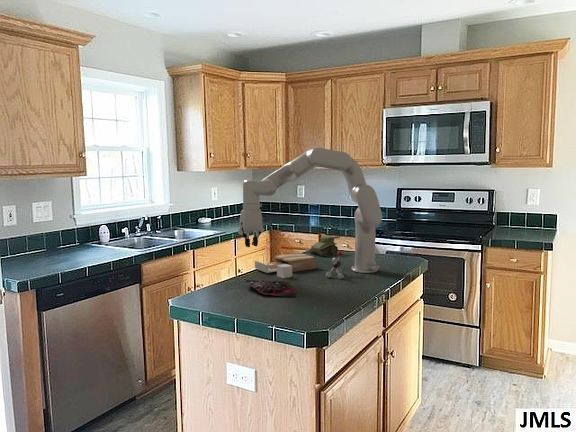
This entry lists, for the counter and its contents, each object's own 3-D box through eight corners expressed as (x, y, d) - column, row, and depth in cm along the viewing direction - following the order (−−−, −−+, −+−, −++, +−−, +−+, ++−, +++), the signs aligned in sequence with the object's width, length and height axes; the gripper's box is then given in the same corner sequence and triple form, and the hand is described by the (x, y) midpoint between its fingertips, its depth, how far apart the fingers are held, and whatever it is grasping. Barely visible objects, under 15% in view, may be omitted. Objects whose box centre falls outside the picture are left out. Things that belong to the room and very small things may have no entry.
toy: (345, 253, 275) (345, 235, 274) (321, 257, 264) (322, 239, 262) (332, 250, 283) (333, 233, 282) (309, 254, 271) (309, 237, 270)
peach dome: (284, 267, 231) (284, 264, 231) (271, 269, 228) (271, 266, 227) (277, 264, 237) (277, 261, 237) (264, 266, 234) (264, 263, 234)
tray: (292, 268, 232) (292, 261, 231) (266, 272, 224) (266, 265, 223) (280, 264, 241) (280, 257, 240) (255, 268, 233) (254, 261, 232)
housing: (315, 268, 238) (315, 257, 237) (290, 272, 229) (290, 261, 229) (299, 262, 249) (299, 252, 248) (274, 266, 241) (274, 255, 240)
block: (292, 276, 221) (292, 265, 220) (283, 278, 218) (283, 267, 217) (286, 274, 225) (286, 263, 224) (277, 275, 222) (277, 265, 222)
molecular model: (324, 278, 219) (325, 255, 218) (331, 272, 230) (331, 250, 229) (342, 279, 216) (343, 256, 215) (348, 273, 228) (348, 251, 226)
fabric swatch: (247, 283, 209) (248, 276, 209) (296, 286, 208) (297, 278, 208) (240, 296, 190) (241, 287, 189) (294, 299, 189) (295, 290, 188)
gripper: (262, 205, 229) (262, 243, 232) (231, 207, 220) (231, 246, 223) (270, 206, 223) (270, 245, 225) (239, 208, 214) (239, 249, 216)
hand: (251, 245), depth 224 cm, fingers open, 3 cm apart
